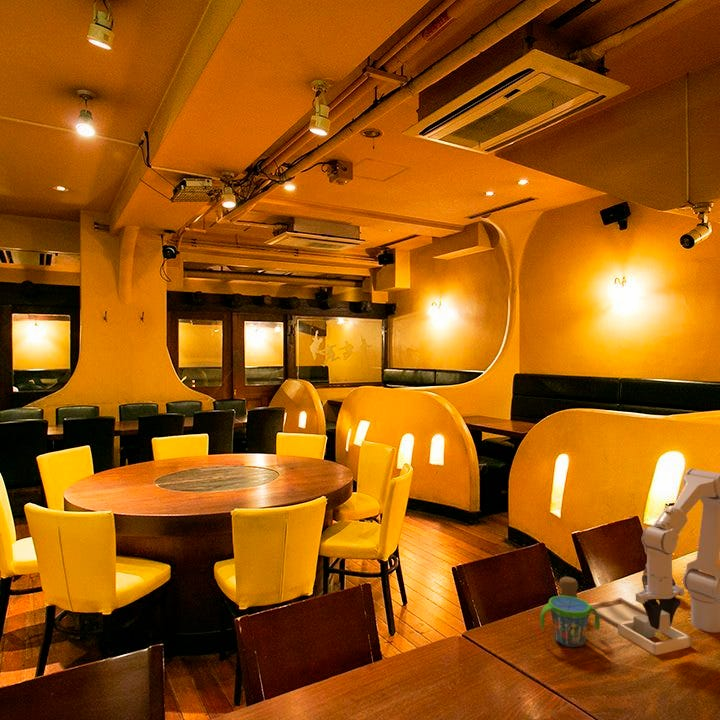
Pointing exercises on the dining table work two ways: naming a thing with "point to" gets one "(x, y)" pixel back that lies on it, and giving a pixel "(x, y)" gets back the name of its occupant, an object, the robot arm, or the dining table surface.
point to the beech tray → (617, 611)
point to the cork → (568, 586)
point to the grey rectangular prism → (643, 626)
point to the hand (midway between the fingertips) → (660, 626)
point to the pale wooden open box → (673, 644)
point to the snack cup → (569, 619)
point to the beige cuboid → (662, 623)
